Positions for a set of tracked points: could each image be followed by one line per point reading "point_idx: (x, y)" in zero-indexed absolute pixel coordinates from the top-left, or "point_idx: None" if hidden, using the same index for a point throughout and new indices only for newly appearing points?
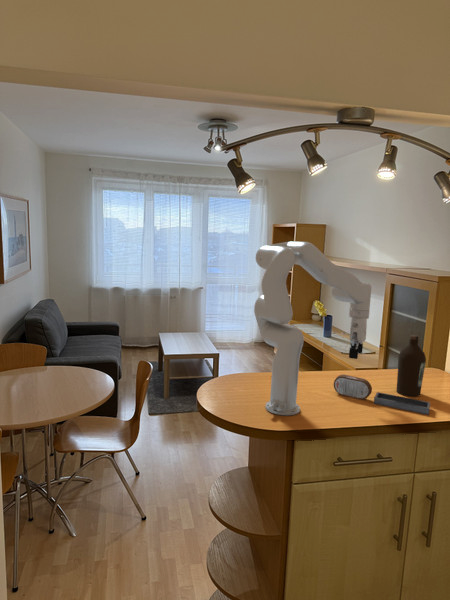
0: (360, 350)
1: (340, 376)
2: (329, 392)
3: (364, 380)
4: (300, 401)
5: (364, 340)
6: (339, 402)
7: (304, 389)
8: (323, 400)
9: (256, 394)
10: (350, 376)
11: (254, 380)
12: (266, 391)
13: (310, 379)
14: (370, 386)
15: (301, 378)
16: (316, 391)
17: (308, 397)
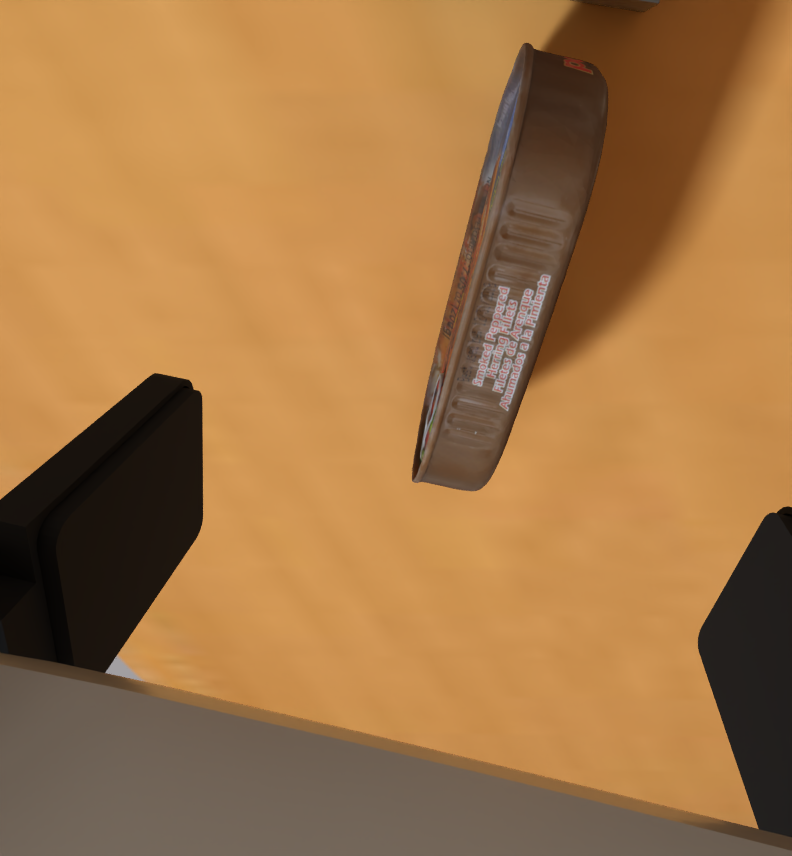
0: (166, 446)
1: (482, 471)
2: None
3: (544, 173)
4: None
5: (377, 796)
6: (703, 372)
7: (472, 611)
8: (688, 494)
9: None
10: (463, 368)
11: None
12: (612, 791)
13: (218, 574)
14: (551, 67)
15: (235, 625)
16: (481, 539)
17: (648, 589)
